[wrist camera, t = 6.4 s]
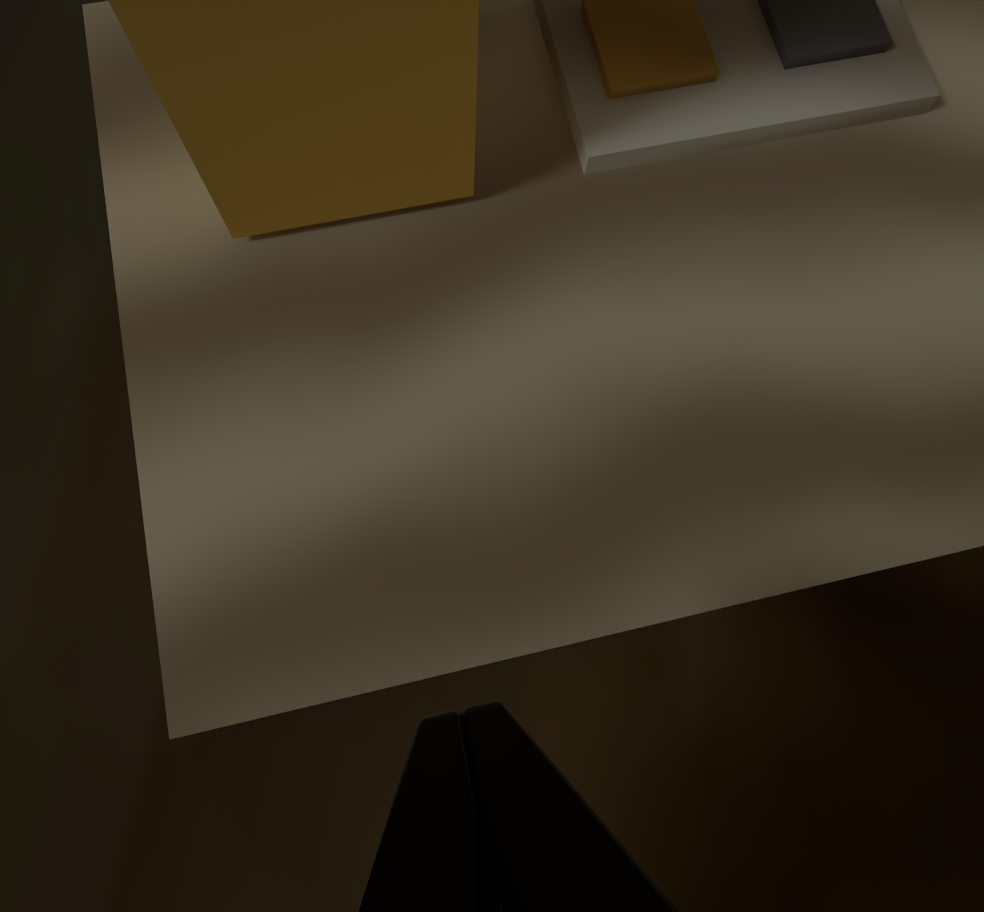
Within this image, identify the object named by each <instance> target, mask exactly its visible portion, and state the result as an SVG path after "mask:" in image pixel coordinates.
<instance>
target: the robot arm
mask: <svg viewBox="0 0 984 912" xmlns="http://www.w3.org/2000/svg"><path fill="white" fill-rule="evenodd" d="M462 720H463V722H462ZM496 886H497V887H496ZM497 891H498V892H497ZM498 895H499V897H498ZM499 900H500V902H499ZM500 905H501V907H500ZM501 909H502V912H677V910H676V909H675V908H674V907H673V906H672V904H671V903H670V902H669V901H668V900H667V898H666V897H665V896H664V895H663V894H662V892H661V891H660V890H659V889H658V888H657V886H656V885H655V884H654V883H653V882H652V880H651V879H650V878H649V877H648V876H647V874H646V873H645V872H644V871H643V870H642V868H641V867H640V866H639V865H638V864H637V863H636V861H635V860H634V859H633V858H632V857H631V855H630V854H629V853H628V852H627V851H626V849H625V848H624V847H623V846H622V845H621V843H620V842H619V841H618V840H617V839H616V837H615V836H614V835H613V834H612V833H611V831H610V830H609V829H608V828H607V827H606V825H605V824H604V823H603V822H602V821H601V819H600V818H599V817H598V816H597V815H596V813H595V812H594V811H593V810H592V809H591V807H590V806H589V805H588V804H587V803H586V801H585V800H584V799H583V798H582V797H581V795H580V794H579V793H578V792H577V791H576V789H575V788H574V787H573V786H572V785H571V783H570V782H569V781H568V780H567V779H566V778H565V776H564V775H563V774H562V773H561V772H560V770H559V769H558V768H557V767H556V766H555V764H554V763H553V762H552V761H551V760H550V758H549V757H548V756H547V755H546V754H545V752H544V751H543V750H542V749H541V748H540V746H539V745H538V744H537V743H536V742H535V740H534V739H533V738H532V737H531V736H530V734H529V733H528V732H527V731H526V730H525V728H524V727H523V726H522V725H521V724H520V722H519V721H518V720H517V719H516V718H515V716H514V715H513V714H512V713H511V712H510V710H509V709H508V708H507V707H506V706H505V705H504V704H503V703H502V702H501V701H499V700H490V701H486V702H482V703H478V704H474V705H469V706H466V707H465V708H464V709H463V710H462V717H461V714H460V713H459V711H457V710H448V711H444V712H440V713H436V714H431V715H427V716H424V717H423V718H421V720H420V721H419V723H418V725H417V728H416V731H415V734H414V737H413V740H412V744H411V747H410V750H409V753H408V756H407V759H406V763H405V766H404V769H403V772H402V775H401V779H400V782H399V785H398V788H397V791H396V794H395V798H394V801H393V804H392V807H391V810H390V814H389V817H388V820H387V823H386V826H385V830H384V833H383V836H382V839H381V842H380V845H379V849H378V852H377V855H376V858H375V861H374V865H373V868H372V871H371V874H370V877H369V880H368V884H367V887H366V890H365V893H364V896H363V900H362V903H361V906H360V909H359V912H501Z"/></svg>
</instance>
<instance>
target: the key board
mask: <svg viewBox="0 0 984 912" xmlns="http://www.w3.org/2000/svg"><path fill="white" fill-rule="evenodd" d="M82 6H83V14H84V23H85V31H86V40H87V48H88V56H89V65H90V73H91V82H92V90H93V99H94V107H95V115H96V124H97V132H98V141H99V149H100V158H101V166H102V174H103V183H104V191H105V200H106V208H107V217H108V225H109V233H110V242H111V250H112V259H113V267H114V276H115V284H116V292H117V301H118V309H119V318H120V326H121V335H122V343H123V351H124V360H125V368H126V377H127V385H128V394H129V402H130V410H131V419H132V427H133V436H134V444H135V453H136V461H137V469H138V478H139V486H140V495H141V503H142V512H143V520H144V528H145V537H146V545H147V554H148V562H149V571H150V579H151V588H152V596H153V604H154V613H155V621H156V630H157V638H158V647H159V655H160V663H161V672H162V680H163V689H164V697H165V706H166V714H167V722H168V731H169V739H173V738H178V737H182V736H186V735H191V734H195V733H199V732H203V731H208V730H212V729H216V728H220V727H224V726H229V725H233V724H237V723H241V722H245V721H250V720H254V719H258V718H262V717H266V716H271V715H275V714H279V713H283V712H288V711H292V710H296V709H300V708H304V707H309V706H313V705H317V704H321V703H325V702H330V701H334V700H338V699H342V698H346V697H351V696H355V695H359V694H363V693H367V692H372V691H376V690H380V689H384V688H388V687H393V686H397V685H401V684H405V683H409V682H414V681H418V680H422V679H426V678H430V677H435V676H439V675H443V674H447V673H451V672H456V671H460V670H464V669H468V668H472V667H477V666H481V665H485V664H489V663H493V662H498V661H502V660H506V659H510V658H514V657H519V656H523V655H527V654H531V653H535V652H540V651H544V650H548V649H552V648H556V647H561V646H565V645H569V644H573V643H578V642H582V641H586V640H590V639H594V638H599V637H603V636H607V635H611V634H615V633H620V632H624V631H628V630H632V629H636V628H641V627H645V626H649V625H653V624H657V623H662V622H666V621H670V620H674V619H678V618H683V617H687V616H691V615H695V614H699V613H704V612H708V611H712V610H716V609H720V608H725V607H729V606H733V605H737V604H741V603H746V602H750V601H754V600H758V599H762V598H767V597H771V596H775V595H779V594H783V593H788V592H792V591H796V590H800V589H804V588H809V587H813V586H817V585H821V584H825V583H830V582H834V581H838V580H842V579H846V578H851V577H855V576H859V575H863V574H868V573H872V572H876V571H880V570H884V569H889V568H893V567H897V566H901V565H905V564H910V563H914V562H918V561H922V560H926V559H931V558H935V557H939V556H943V555H947V554H952V553H956V552H960V551H964V550H968V549H973V548H977V547H981V546H984V0H479V27H478V62H477V98H476V134H475V169H474V196H469V197H464V198H458V199H453V200H447V201H442V202H436V203H430V204H425V205H419V206H414V207H408V208H403V209H397V210H391V211H386V212H380V213H375V214H369V215H363V216H358V217H352V218H347V219H341V220H336V221H330V222H324V223H319V224H313V225H308V226H302V227H297V228H291V229H285V230H280V231H274V232H269V233H263V234H258V235H252V236H246V237H241V238H235V239H233V238H232V236H231V234H230V232H229V230H228V228H227V226H226V224H225V222H224V221H223V219H222V217H221V215H220V213H219V211H218V209H217V207H216V205H215V203H214V201H213V200H212V198H211V196H210V194H209V192H208V190H207V188H206V186H205V184H204V182H203V180H202V179H201V177H200V175H199V173H198V171H197V169H196V167H195V165H194V163H193V161H192V160H191V158H190V156H189V154H188V152H187V150H186V148H185V146H184V144H183V142H182V140H181V139H180V137H179V135H178V133H177V131H176V129H175V127H174V125H173V123H172V121H171V119H170V118H169V116H168V114H167V112H166V110H165V108H164V106H163V104H162V102H161V100H160V99H159V97H158V95H157V93H156V91H155V89H154V87H153V85H152V83H151V81H150V79H149V78H148V76H147V74H146V72H145V70H144V68H143V66H142V64H141V62H140V60H139V58H138V57H137V55H136V53H135V51H134V49H133V47H132V45H131V43H130V41H129V39H128V38H127V36H126V34H125V32H124V30H123V28H122V26H121V24H120V22H119V20H118V18H117V17H116V15H115V13H114V11H113V9H112V7H111V5H110V3H109V1H104V2H97V3H90V4H84V5H82Z"/></svg>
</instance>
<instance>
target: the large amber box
mask: <svg viewBox="0 0 984 912" xmlns="http://www.w3.org/2000/svg"><path fill="white" fill-rule="evenodd" d="M108 1H109V3H110V5H111V7H112V9H113V11H114V13H115V15H116V17H117V18H118V20H119V22H120V24H121V26H122V28H123V30H124V32H125V34H126V36H127V38H128V39H129V41H130V43H131V45H132V47H133V49H134V51H135V53H136V55H137V57H138V58H139V60H140V62H141V64H142V66H143V68H144V70H145V72H146V74H147V76H148V78H149V79H150V81H151V83H152V85H153V87H154V89H155V91H156V93H157V95H158V97H159V99H160V100H161V102H162V104H163V106H164V108H165V110H166V112H167V114H168V116H169V118H170V119H171V121H172V123H173V125H174V127H175V129H176V131H177V133H178V135H179V137H180V139H181V140H182V142H183V144H184V146H185V148H186V150H187V152H188V154H189V156H190V158H191V160H192V161H193V163H194V165H195V167H196V169H197V171H198V173H199V175H200V177H201V179H202V180H203V182H204V184H205V186H206V188H207V190H208V192H209V194H210V196H211V198H212V200H213V201H214V203H215V205H216V207H217V209H218V211H219V213H220V215H221V217H222V219H223V221H224V222H225V224H226V226H227V228H228V230H229V232H230V234H231V236H232V238H233V239H235V238H241V237H246V236H252V235H258V234H263V233H269V232H274V231H280V230H285V229H291V228H297V227H302V226H308V225H313V224H319V223H324V222H330V221H336V220H341V219H347V218H352V217H358V216H363V215H369V214H375V213H380V212H386V211H391V210H397V209H403V208H408V207H414V206H419V205H425V204H430V203H436V202H442V201H447V200H453V199H458V198H464V197H469V196H474V169H475V134H476V98H477V62H478V27H479V0H108Z"/></svg>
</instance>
